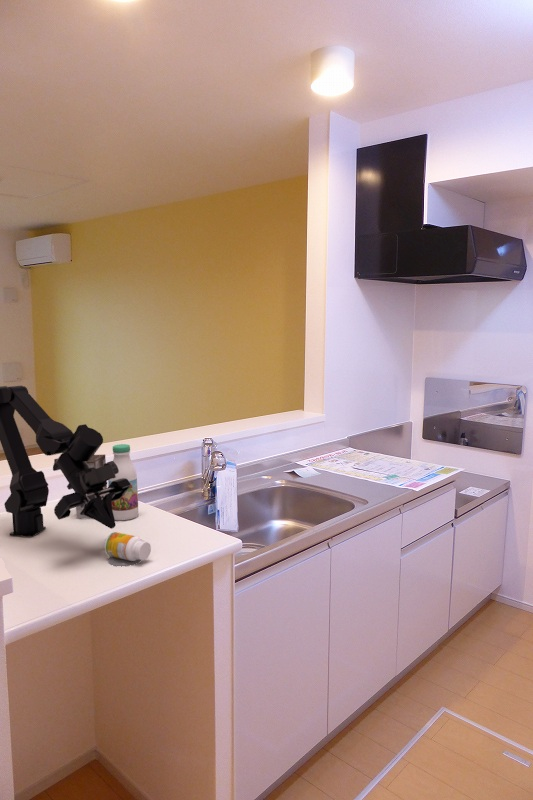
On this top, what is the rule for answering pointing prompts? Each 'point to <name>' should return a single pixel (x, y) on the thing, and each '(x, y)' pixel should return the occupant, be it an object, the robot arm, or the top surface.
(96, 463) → the coffee box
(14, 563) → the top surface
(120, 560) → the coaster
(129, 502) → the milk bottle
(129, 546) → the supplement bottle
